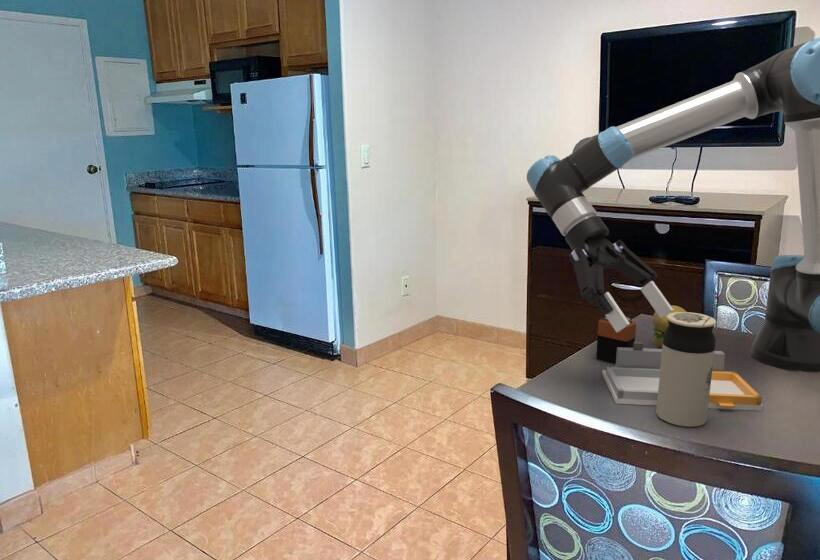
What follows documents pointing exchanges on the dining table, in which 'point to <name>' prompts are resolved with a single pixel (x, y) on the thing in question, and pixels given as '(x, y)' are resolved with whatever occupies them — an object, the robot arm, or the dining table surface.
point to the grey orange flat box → (642, 371)
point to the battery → (613, 339)
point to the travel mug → (686, 369)
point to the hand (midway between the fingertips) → (646, 321)
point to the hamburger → (662, 325)
